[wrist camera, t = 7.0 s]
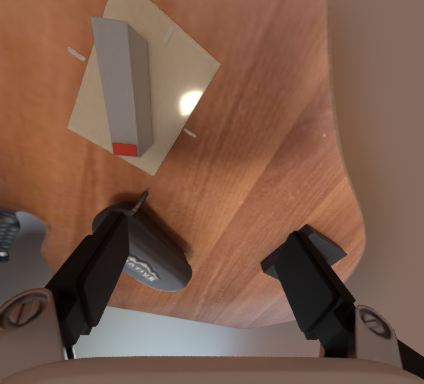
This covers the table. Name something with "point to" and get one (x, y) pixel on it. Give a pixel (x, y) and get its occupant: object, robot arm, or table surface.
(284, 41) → the table surface
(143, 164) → the base
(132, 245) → the glasses case
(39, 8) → the table surface
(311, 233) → the switch block
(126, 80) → the grey red-tipped bar
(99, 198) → the table surface
